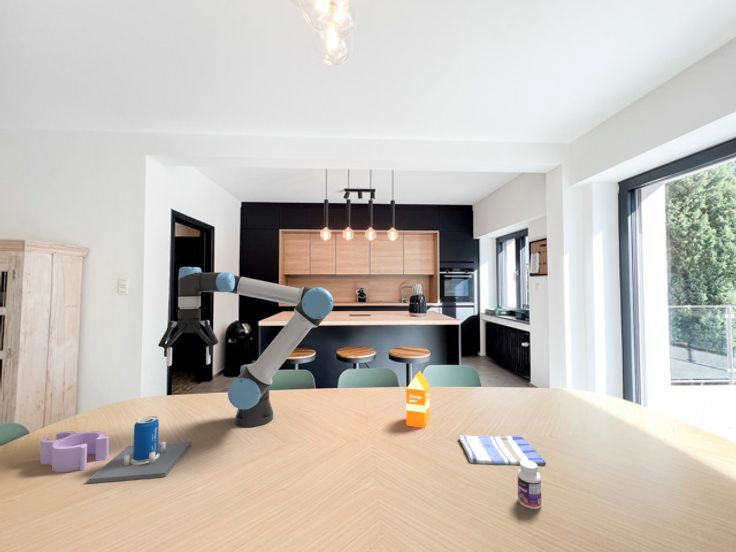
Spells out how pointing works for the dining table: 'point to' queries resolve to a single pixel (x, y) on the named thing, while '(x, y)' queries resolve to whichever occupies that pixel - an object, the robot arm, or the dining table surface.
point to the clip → (73, 450)
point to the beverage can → (145, 438)
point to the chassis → (141, 464)
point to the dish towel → (499, 450)
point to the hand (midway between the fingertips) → (188, 364)
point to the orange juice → (417, 401)
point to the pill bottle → (529, 485)
